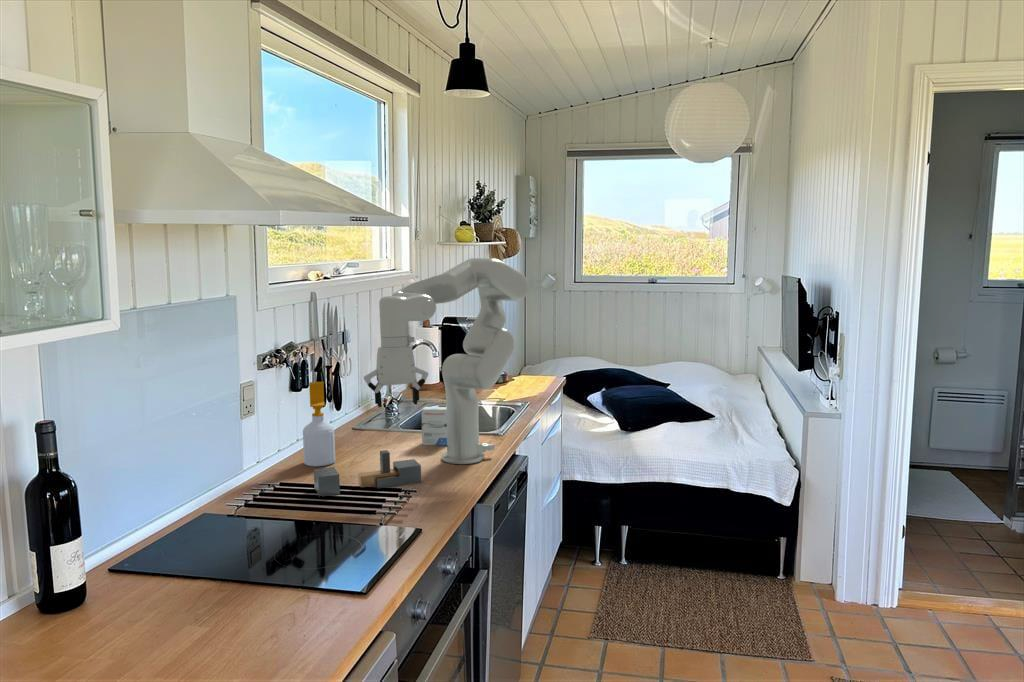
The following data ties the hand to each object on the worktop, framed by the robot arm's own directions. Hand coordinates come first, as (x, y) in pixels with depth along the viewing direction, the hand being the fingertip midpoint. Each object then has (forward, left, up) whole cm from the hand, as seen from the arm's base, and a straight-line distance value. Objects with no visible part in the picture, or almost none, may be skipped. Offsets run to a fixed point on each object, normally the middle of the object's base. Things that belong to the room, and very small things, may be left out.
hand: (397, 404), depth 210 cm
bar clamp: (+8, +1, -21) cm, 23 cm away
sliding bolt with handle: (+3, +1, -21) cm, 21 cm away
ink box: (-21, -32, -21) cm, 44 cm away
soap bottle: (+17, -26, -21) cm, 38 cm away
